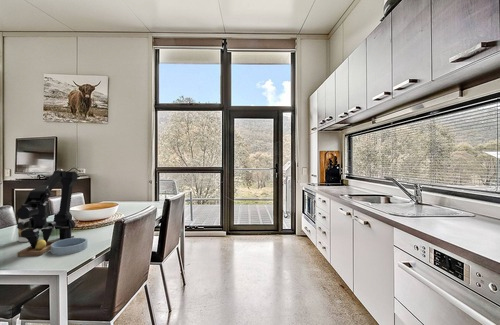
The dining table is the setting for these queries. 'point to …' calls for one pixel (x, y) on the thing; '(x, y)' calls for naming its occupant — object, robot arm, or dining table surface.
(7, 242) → the dining table surface
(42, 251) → the tray
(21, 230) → the milk bottle
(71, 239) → the bowl
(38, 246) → the ball
